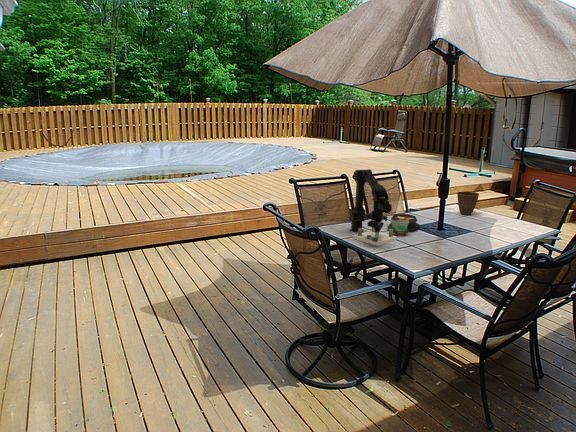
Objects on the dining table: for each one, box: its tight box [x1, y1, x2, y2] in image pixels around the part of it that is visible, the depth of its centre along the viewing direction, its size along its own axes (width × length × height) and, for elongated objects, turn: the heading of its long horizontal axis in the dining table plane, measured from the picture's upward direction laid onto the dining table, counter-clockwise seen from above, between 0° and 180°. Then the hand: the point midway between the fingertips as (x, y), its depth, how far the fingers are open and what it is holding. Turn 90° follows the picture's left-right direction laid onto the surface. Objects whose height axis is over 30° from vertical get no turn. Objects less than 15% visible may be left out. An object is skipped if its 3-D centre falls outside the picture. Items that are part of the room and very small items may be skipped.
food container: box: [390, 218, 409, 237], centre depth 267 cm, size 12×6×10 cm, turn 105°
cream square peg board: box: [352, 227, 398, 247], centre depth 260 cm, size 18×18×6 cm
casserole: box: [387, 213, 421, 232], centre depth 282 cm, size 25×19×8 cm
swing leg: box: [367, 232, 379, 239], centre depth 253 cm, size 9×3×5 cm, turn 39°
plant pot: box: [456, 191, 480, 217], centre depth 319 cm, size 15×15×16 cm
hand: (377, 235), depth 253 cm, fingers closed
